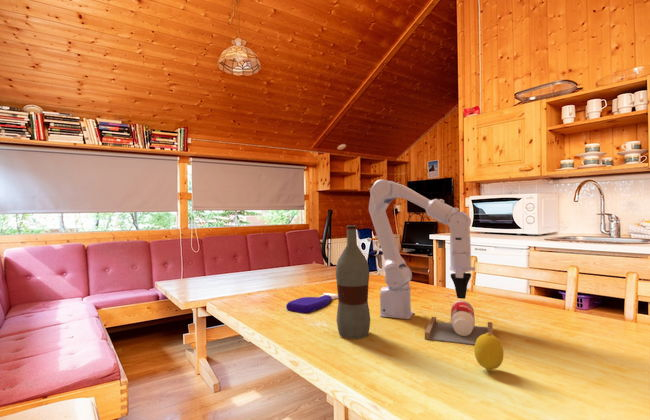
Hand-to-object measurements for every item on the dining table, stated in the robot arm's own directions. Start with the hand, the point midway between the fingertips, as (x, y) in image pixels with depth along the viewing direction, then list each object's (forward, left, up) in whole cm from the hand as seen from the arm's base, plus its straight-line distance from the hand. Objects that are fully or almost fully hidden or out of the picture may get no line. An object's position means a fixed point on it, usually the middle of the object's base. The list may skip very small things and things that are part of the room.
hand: (461, 298), depth 108 cm
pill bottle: (0, -2, -3) cm, 4 cm away
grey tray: (0, -10, -7) cm, 13 cm away
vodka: (-27, -20, -8) cm, 35 cm away
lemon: (+7, -32, -8) cm, 34 cm away
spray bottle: (-51, +6, -8) cm, 52 cm away
